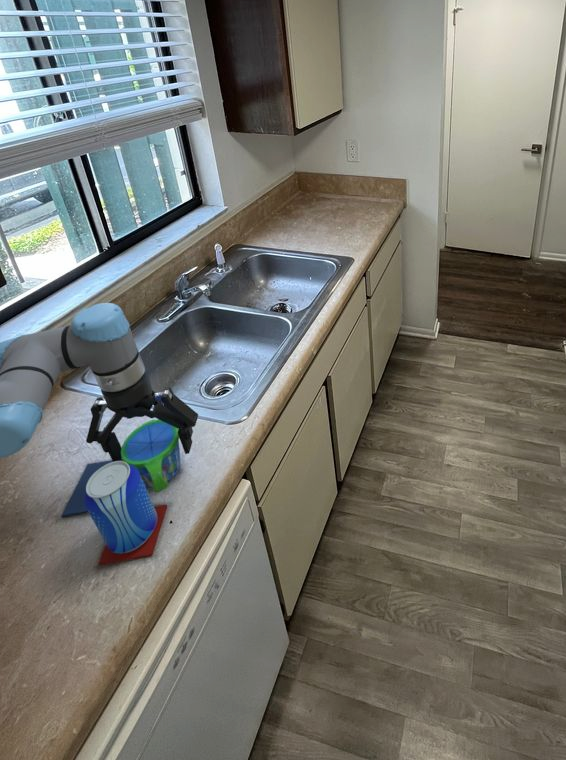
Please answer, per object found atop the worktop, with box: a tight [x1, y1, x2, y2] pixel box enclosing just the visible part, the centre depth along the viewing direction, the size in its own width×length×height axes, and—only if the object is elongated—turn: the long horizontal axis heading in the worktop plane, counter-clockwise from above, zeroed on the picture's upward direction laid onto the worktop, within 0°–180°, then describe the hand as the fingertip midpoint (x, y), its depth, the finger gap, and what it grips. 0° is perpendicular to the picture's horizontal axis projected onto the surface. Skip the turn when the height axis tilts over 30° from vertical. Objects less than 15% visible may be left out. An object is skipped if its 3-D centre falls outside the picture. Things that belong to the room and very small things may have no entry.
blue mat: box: [61, 459, 124, 518], centre depth 91 cm, size 11×11×1 cm
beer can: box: [84, 461, 157, 553], centre depth 79 cm, size 8×8×16 cm
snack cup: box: [121, 419, 182, 493], centre depth 92 cm, size 16×10×10 cm
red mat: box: [97, 504, 168, 567], centre depth 83 cm, size 9×9×1 cm
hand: (154, 453), depth 91 cm, fingers open, 13 cm apart
